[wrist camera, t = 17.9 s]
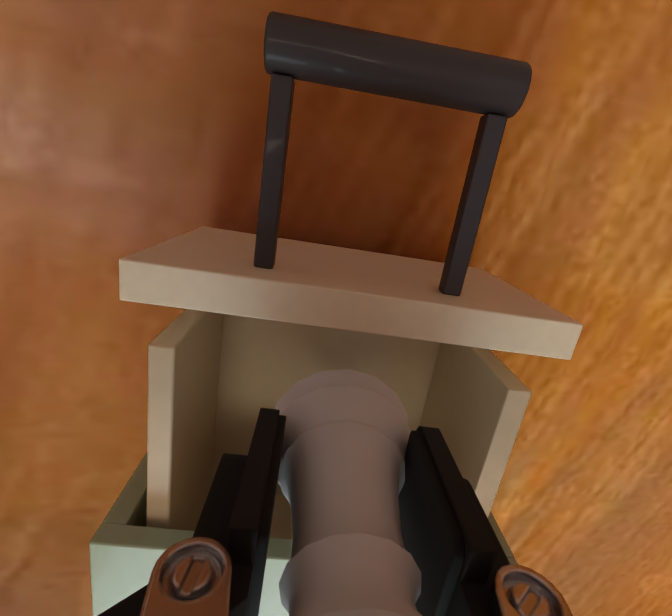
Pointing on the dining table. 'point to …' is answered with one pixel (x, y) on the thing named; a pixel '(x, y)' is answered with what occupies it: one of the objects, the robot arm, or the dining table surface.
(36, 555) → the dining table surface
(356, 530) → the rook chess piece
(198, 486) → the drawer
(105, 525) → the cabinet
